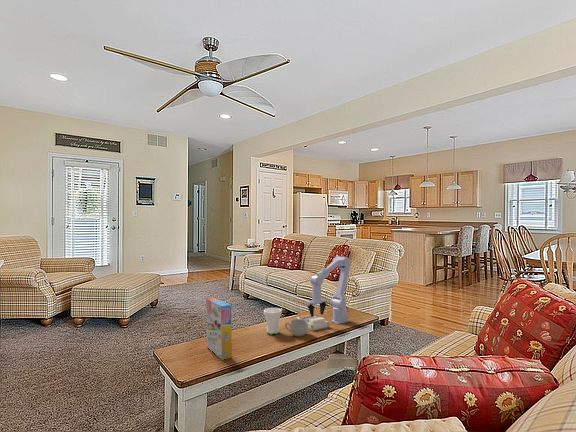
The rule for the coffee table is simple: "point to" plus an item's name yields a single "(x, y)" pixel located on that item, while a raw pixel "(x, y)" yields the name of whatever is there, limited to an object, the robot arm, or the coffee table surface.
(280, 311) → the cup
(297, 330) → the teacup
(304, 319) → the slate key
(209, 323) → the game box
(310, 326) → the cream drawer frame
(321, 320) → the ivory key
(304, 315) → the terracotta key
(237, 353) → the coffee table surface
